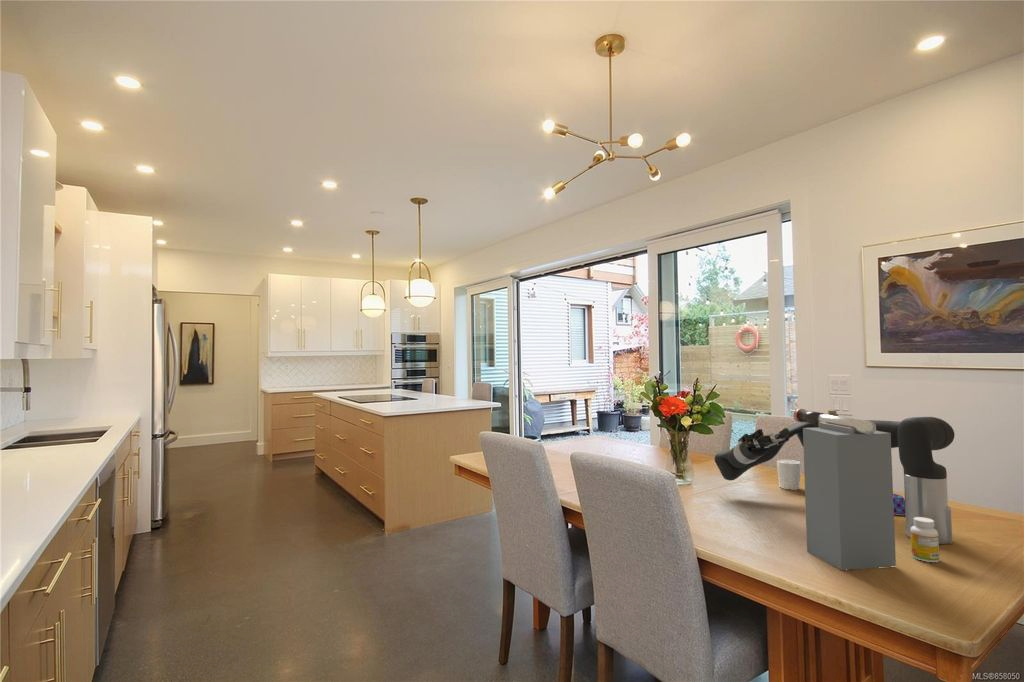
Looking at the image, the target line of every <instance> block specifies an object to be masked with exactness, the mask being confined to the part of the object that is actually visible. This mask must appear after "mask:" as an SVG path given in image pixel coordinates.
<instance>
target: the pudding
mask: <svg viewBox="0 0 1024 682" xmlns="http://www.w3.org/2000/svg"><path fill="white" fill-rule="evenodd" d="M893 506H894V516H899V515H901V516H905V497H904V496H902V495H900V494H897V493H893Z"/></svg>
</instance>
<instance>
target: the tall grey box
mask: <svg viewBox="0 0 1024 682" xmlns="http://www.w3.org/2000/svg"><path fill="white" fill-rule="evenodd" d="M802 448H803V468H804V469H803V471H804V493H805V494H804V497H805V498H804V499H805V500H804V501H805V524H806V525H805V530H806V531H805V532H806V552H808V553H809V554H811V555H813V556H815V557H817V558H818V559H820V560H822V561H823V562H825V561H826V563H827V562H828V563H827V564H829V565H830V566H832V565H833V566H832V567H834V566H835V568H836V567H837V568H836V569H838V568H839V569H841V570H844V571H849V570H848V569H861V570H870V569H869V568H877V569H880V568H879V567H891V566H896V567H897V563H896V562H897V561H896V560H897V559H896V536H895V533H896V532H895V515H894V506H893V494H894V487H893V485H894V483H893V461H892V459H893V458H892V457H893V456H892V448H891V433H887V432H881V431H875V432H874V433H873V434H866V433H861V432H856V431H854V428H850V427H844V426H839V425H834V424H828V423H823V422H818V428H803V446H802ZM867 568H868V569H867ZM839 569H838V570H839ZM846 569H847V570H846ZM841 570H840V571H841Z"/></svg>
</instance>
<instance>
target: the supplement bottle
mask: <svg viewBox="0 0 1024 682" xmlns="http://www.w3.org/2000/svg"><path fill="white" fill-rule="evenodd" d="M914 524H915V526H912V527H911V529H910V532H911V538H910V553H911V557H912V558H913V557H914V558H913V559H915V558H916V559H915V560H917V559H918V560H917V561H919V560H922V561H921V562H923V561H926V562H925V563H929V562H933V563H934V562H936V563H938V562H939V561H940V546H939V545H940V544H939V540H938V532H937V531H936V530H935V529H933V527H934V521H933V520H932V519H929V518H923V517H915V518H914ZM933 563H932V564H933Z"/></svg>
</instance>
